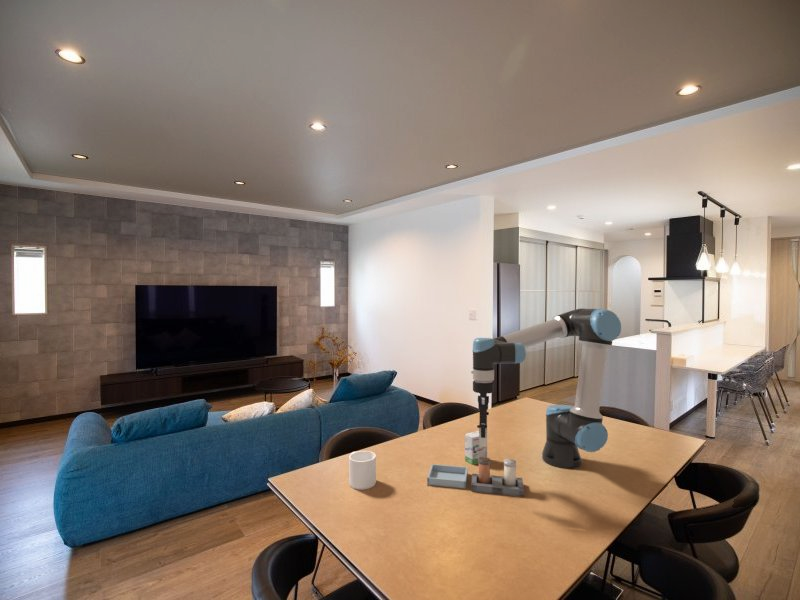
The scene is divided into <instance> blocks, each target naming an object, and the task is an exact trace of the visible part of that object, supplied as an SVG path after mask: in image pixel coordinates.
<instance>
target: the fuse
mask: <svg viewBox="0 0 800 600" xmlns="http://www.w3.org/2000/svg"><path fill="white" fill-rule="evenodd" d="M516 468H517V460H515V459H513V458H505V459H503V476H504V486H512V487H516V478H517V471H516V470H517V469H516Z"/></svg>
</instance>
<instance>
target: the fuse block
mask: <svg viewBox="0 0 800 600" xmlns="http://www.w3.org/2000/svg"><path fill="white" fill-rule="evenodd" d="M470 486H471V487H470V491H471V492H473V493H481V494H492V495H502V496H510V497H511V496H512V497H523V498H525V486H524V480H523V477H516V487H512V486H504V475H494V474H493V475H492V474H490V484H481V483H479V473H472V475H471V484H470Z"/></svg>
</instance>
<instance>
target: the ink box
mask: <svg viewBox="0 0 800 600" xmlns="http://www.w3.org/2000/svg"><path fill="white" fill-rule="evenodd" d="M464 455H465V456H464V460H465V461H464V462H466V463H468V464H470V465H471V466H473V465H476V464H479V463H478V458H479V457H488V446H487V447H483V446H479V430H476V431H472V432H468V433H465V434H464Z"/></svg>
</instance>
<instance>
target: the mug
mask: <svg viewBox="0 0 800 600" xmlns="http://www.w3.org/2000/svg"><path fill="white" fill-rule="evenodd" d="M376 456H377V455H376V453H375V452H373V451H370V450H359V451H352V452H351V453H350V454H349V456H348V484H349V486H350V488H351V489H354V490H358V491H364V490H369V489H371V488H374V486H375V485H376V484H377V457H376Z"/></svg>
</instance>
